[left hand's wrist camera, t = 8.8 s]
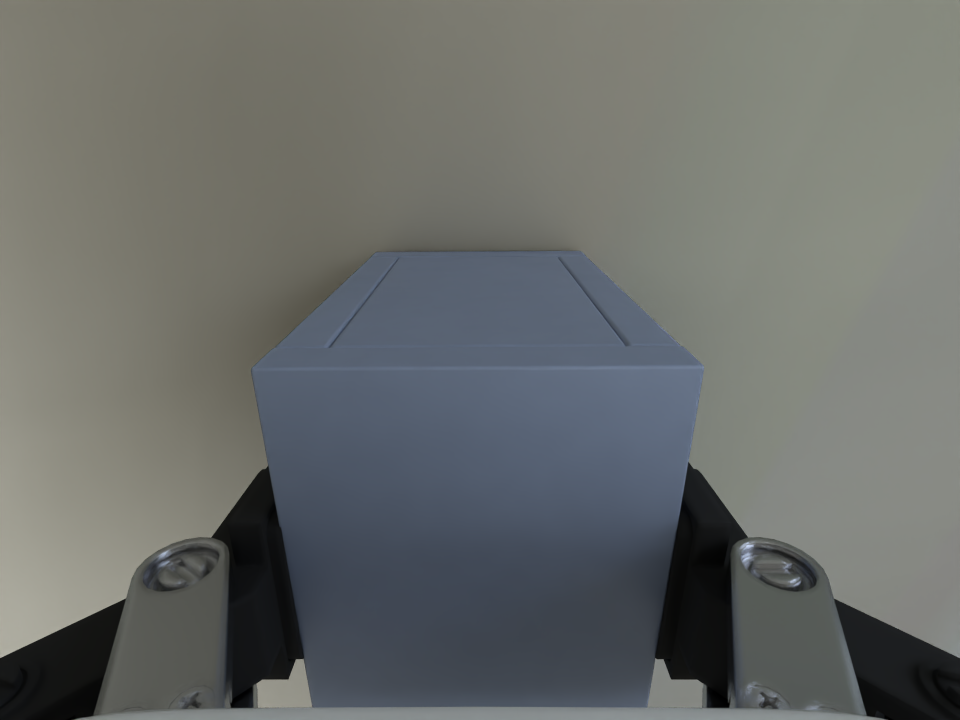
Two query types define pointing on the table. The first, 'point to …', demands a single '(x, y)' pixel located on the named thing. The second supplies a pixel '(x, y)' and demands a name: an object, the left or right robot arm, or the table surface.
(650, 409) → the blue-grey rectangular block
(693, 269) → the table surface
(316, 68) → the table surface
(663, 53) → the table surface
